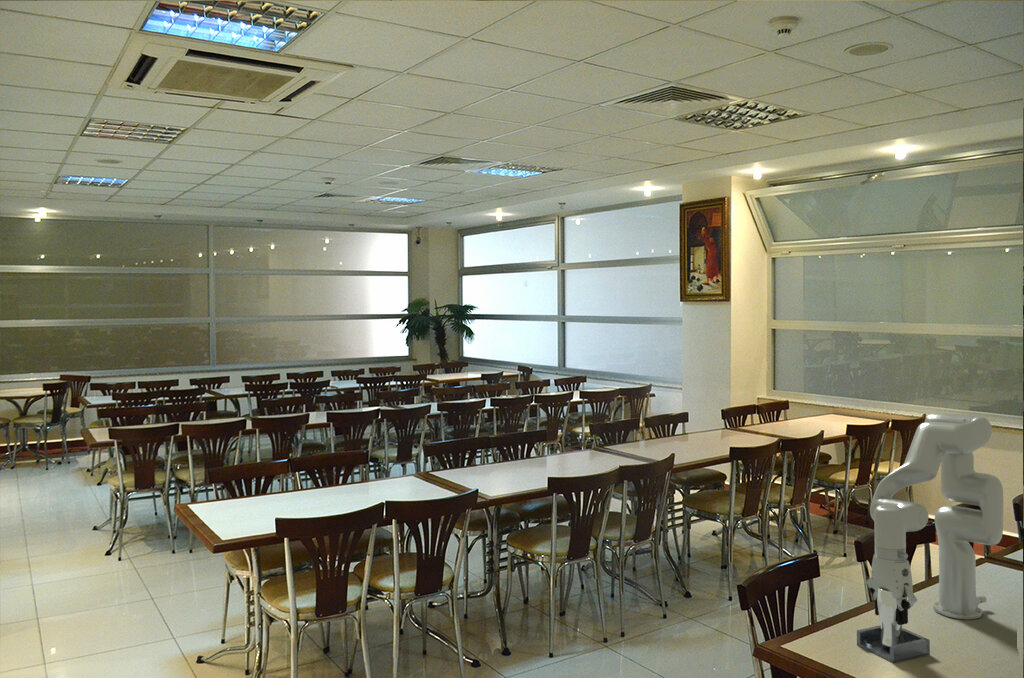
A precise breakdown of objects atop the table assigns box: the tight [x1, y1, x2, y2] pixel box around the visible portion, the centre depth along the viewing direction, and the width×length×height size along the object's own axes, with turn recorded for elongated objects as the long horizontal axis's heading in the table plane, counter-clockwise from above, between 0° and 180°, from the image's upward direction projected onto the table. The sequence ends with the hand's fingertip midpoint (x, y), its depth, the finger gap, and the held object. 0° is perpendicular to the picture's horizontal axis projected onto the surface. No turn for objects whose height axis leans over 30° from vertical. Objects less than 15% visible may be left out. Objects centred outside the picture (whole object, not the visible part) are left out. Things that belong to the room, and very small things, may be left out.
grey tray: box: [856, 624, 931, 664], centre depth 210 cm, size 12×12×4 cm
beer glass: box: [877, 587, 905, 647], centre depth 209 cm, size 7×7×15 cm
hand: (891, 618), depth 209 cm, fingers closed on beer glass, 6 cm apart
